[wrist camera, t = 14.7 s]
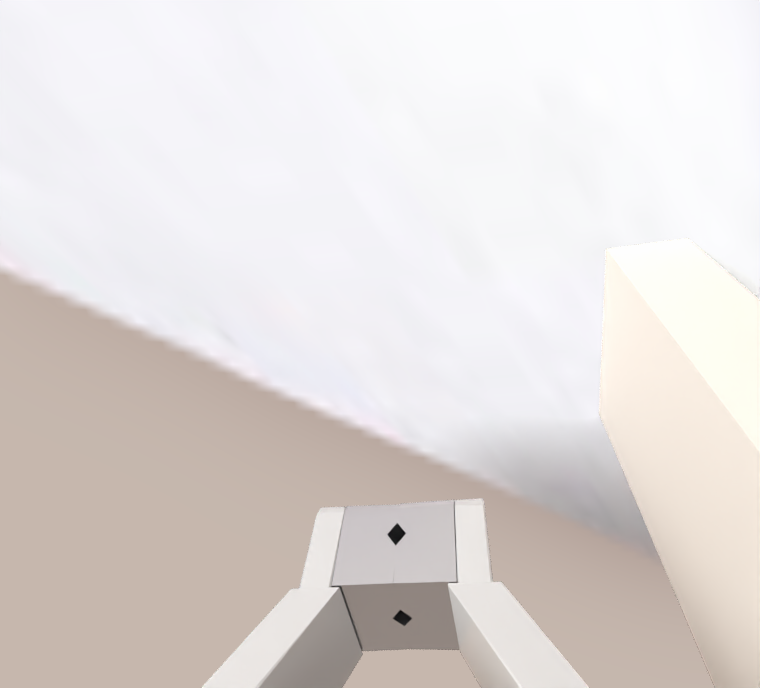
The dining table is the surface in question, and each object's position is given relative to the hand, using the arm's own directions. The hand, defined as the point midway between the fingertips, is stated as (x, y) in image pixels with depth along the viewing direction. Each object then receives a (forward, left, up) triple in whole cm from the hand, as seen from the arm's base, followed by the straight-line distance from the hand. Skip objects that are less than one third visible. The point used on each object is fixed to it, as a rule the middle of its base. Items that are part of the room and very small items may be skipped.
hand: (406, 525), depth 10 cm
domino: (-6, 0, -6) cm, 8 cm away
